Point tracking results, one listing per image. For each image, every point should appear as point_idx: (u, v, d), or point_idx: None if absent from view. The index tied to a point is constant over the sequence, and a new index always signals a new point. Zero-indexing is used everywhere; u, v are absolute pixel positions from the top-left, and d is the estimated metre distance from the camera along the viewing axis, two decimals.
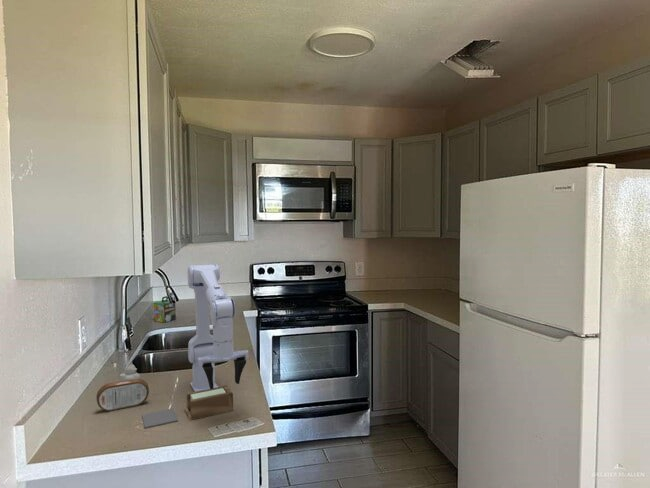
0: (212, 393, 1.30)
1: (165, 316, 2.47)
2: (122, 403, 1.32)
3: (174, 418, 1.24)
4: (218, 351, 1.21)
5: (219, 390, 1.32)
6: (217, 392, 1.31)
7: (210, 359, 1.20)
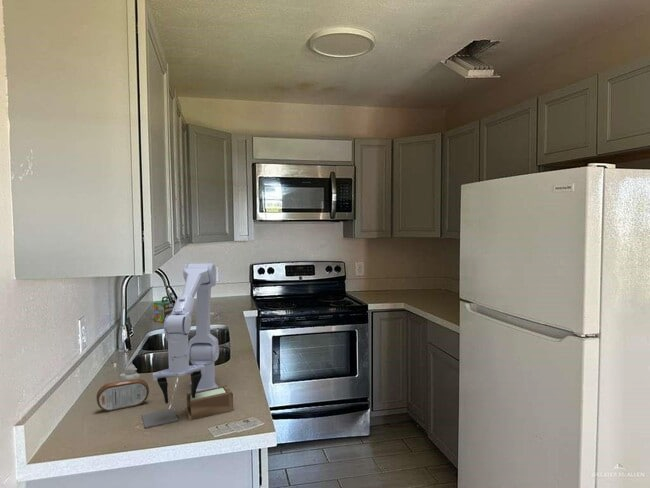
0: (212, 393, 1.30)
1: (165, 316, 2.47)
2: (122, 403, 1.32)
3: (174, 418, 1.24)
4: (172, 366, 1.23)
5: (219, 390, 1.32)
6: (217, 392, 1.31)
7: (164, 374, 1.22)
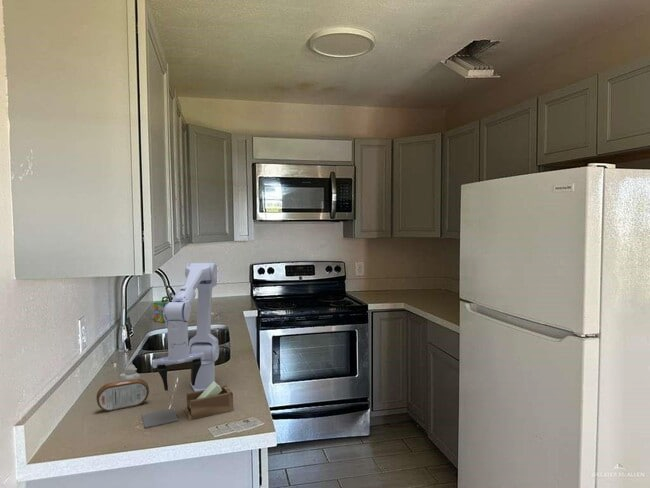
0: (206, 393, 1.29)
1: None
2: (122, 403, 1.32)
3: (174, 418, 1.24)
4: (172, 353, 1.22)
5: (211, 385, 1.31)
6: (210, 389, 1.29)
7: (164, 361, 1.22)
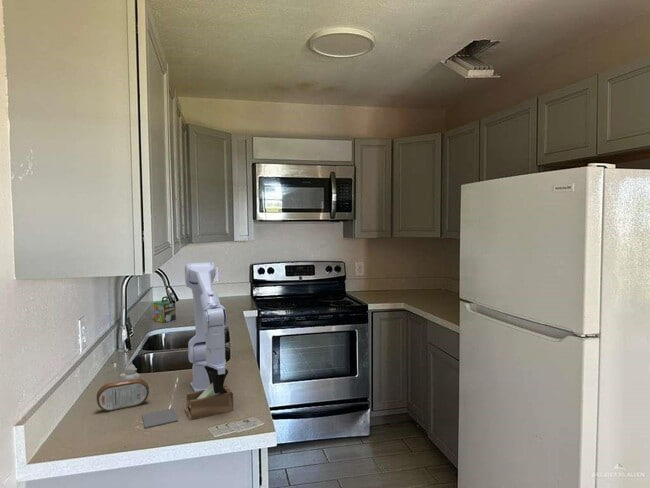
0: (206, 393, 1.29)
1: (165, 316, 2.47)
2: (122, 403, 1.32)
3: (174, 418, 1.24)
4: None
5: (211, 385, 1.31)
6: (210, 389, 1.29)
7: None
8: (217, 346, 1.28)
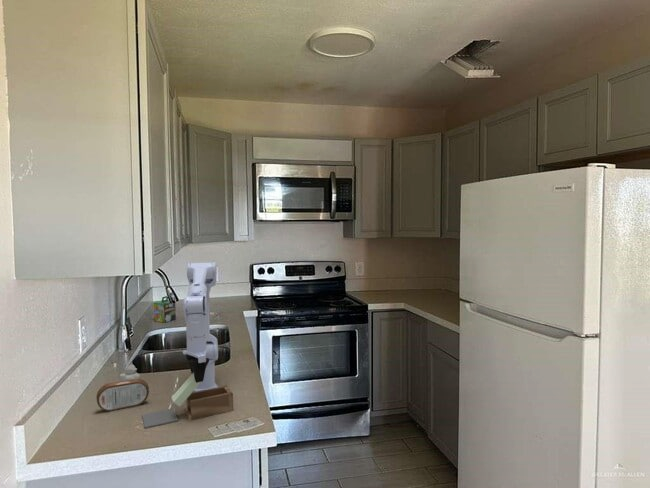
0: (188, 383, 1.26)
1: (165, 316, 2.47)
2: (122, 403, 1.32)
3: (174, 418, 1.24)
4: None
5: (192, 375, 1.28)
6: (191, 379, 1.27)
7: None
8: (195, 334, 1.25)
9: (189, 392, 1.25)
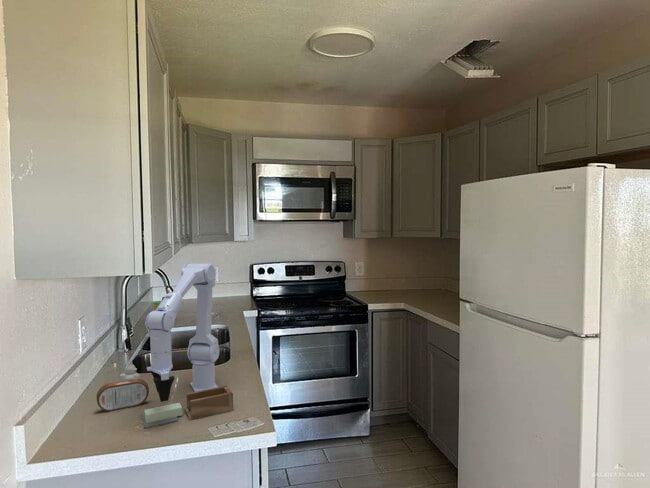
0: (167, 408, 1.25)
1: None
2: (122, 403, 1.32)
3: (174, 418, 1.24)
4: None
5: (175, 405, 1.28)
6: (173, 407, 1.26)
7: None
8: (155, 351, 1.22)
9: (163, 417, 1.24)
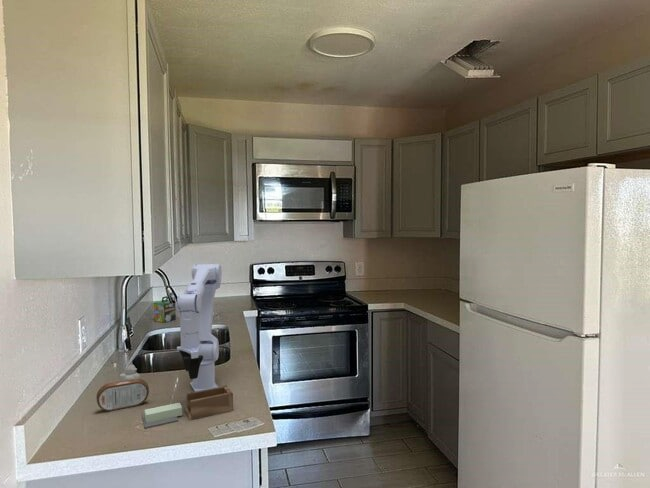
0: (167, 408, 1.25)
1: (165, 316, 2.47)
2: (122, 403, 1.32)
3: (174, 418, 1.24)
4: None
5: (175, 405, 1.28)
6: (173, 407, 1.26)
7: None
8: (187, 331, 1.29)
9: (163, 417, 1.24)
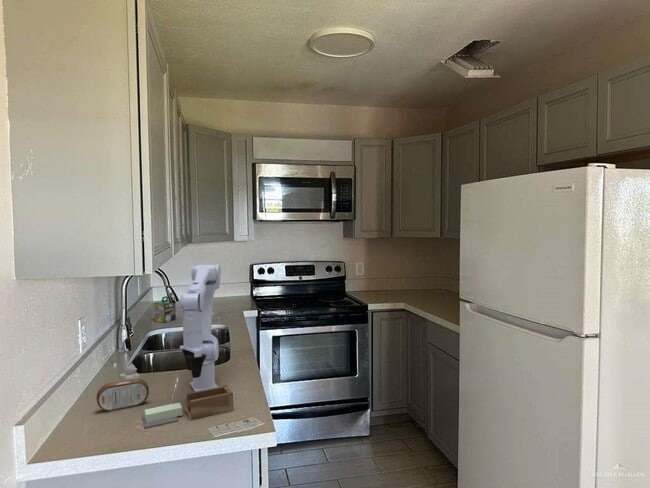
0: (167, 408, 1.25)
1: (165, 316, 2.47)
2: (122, 403, 1.32)
3: (174, 418, 1.24)
4: None
5: (175, 405, 1.28)
6: (173, 407, 1.26)
7: None
8: (190, 330, 1.30)
9: (163, 417, 1.24)
